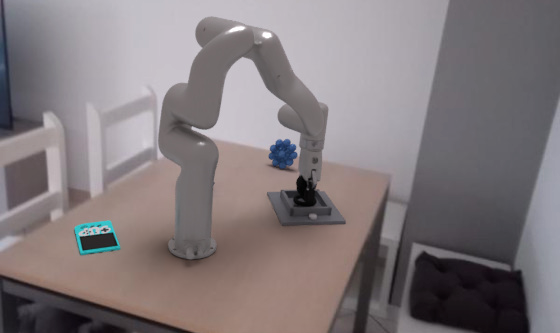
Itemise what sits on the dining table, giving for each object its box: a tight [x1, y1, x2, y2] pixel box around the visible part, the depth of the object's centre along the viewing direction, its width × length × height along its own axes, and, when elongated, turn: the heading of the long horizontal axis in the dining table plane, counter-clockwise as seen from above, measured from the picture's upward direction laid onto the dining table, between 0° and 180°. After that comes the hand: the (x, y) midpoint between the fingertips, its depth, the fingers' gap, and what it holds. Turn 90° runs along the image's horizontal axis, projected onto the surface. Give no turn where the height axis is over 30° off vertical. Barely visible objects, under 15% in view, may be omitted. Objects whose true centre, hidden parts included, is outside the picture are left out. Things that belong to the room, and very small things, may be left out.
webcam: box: [293, 175, 318, 207], centre depth 169 cm, size 8×8×10 cm
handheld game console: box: [74, 220, 121, 256], centre depth 143 cm, size 10×16×1 cm, turn 26°
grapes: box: [268, 138, 298, 170], centre depth 201 cm, size 12×7×12 cm, turn 64°
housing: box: [266, 188, 347, 226], centre depth 171 cm, size 22×20×4 cm
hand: (305, 195), depth 170 cm, fingers closed on webcam, 6 cm apart
